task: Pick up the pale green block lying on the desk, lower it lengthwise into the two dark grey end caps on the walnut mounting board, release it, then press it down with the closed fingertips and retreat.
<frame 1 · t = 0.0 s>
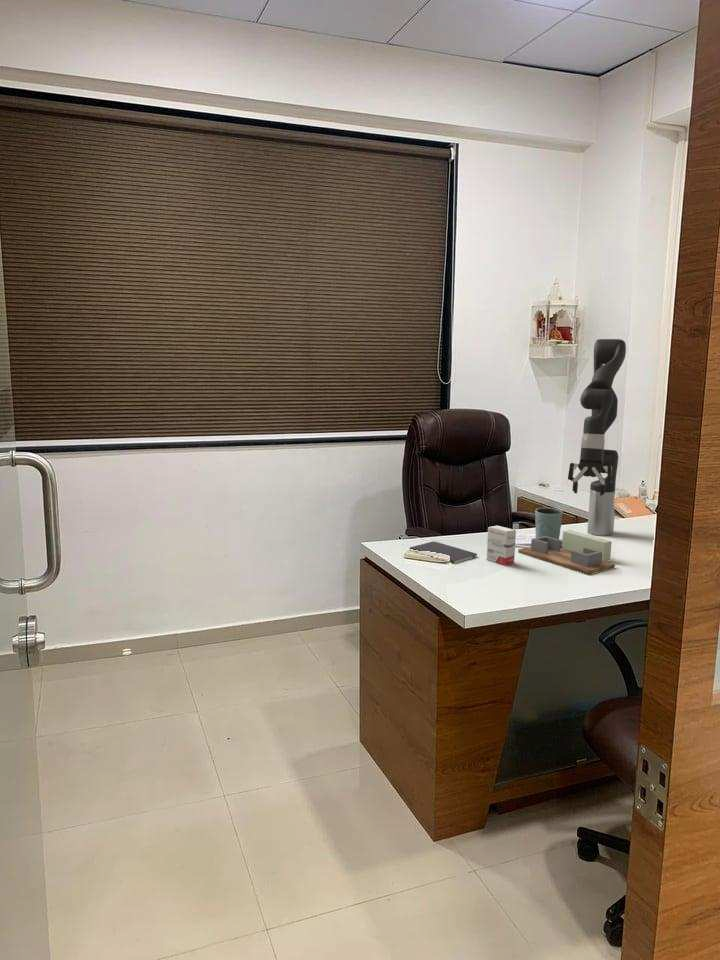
hand: (588, 494, 241), 22 cm above the table, tool pointing down, fingers open, 8 cm apart
end cap 1: (539, 551, 251), resting on mounting board
grey green cup: (547, 542, 264), on the table
ink box: (500, 562, 240), on the table
notebook: (443, 555, 249), on the table
end cap 2: (592, 568, 232), resting on mounting board
mounting board: (564, 559, 242), on the table
pale green block: (585, 555, 248), on the table
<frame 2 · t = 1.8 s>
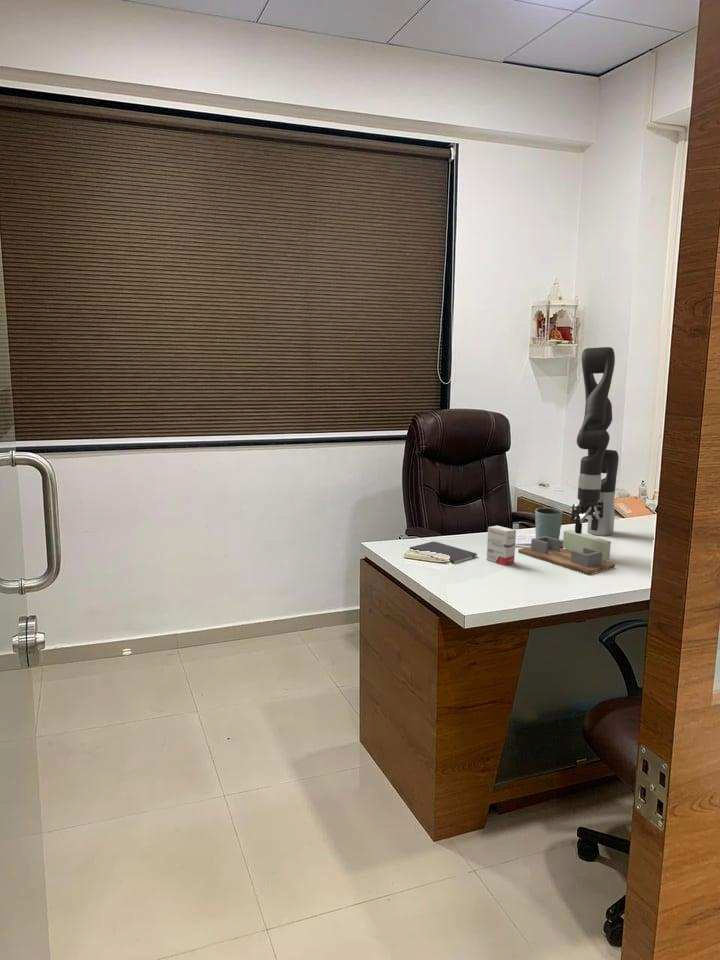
hand: (586, 531, 246), 8 cm above the table, tool pointing down, fingers open, 8 cm apart
nothing on the table moved.
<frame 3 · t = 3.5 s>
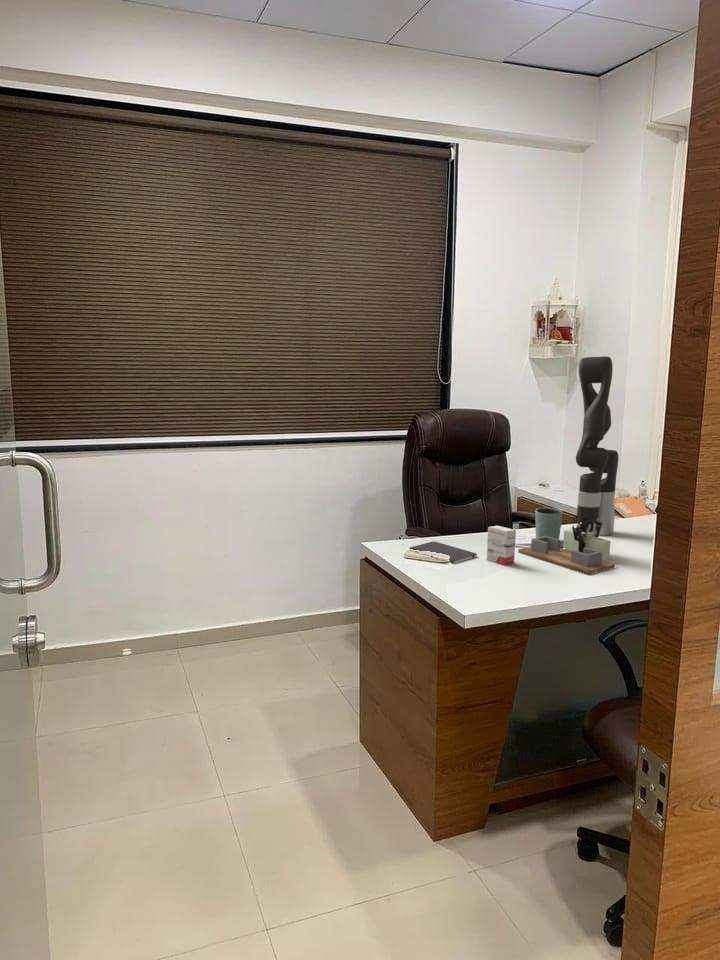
hand: (585, 551, 248), 1 cm above the table, tool pointing down, fingers closed on pale green block, 3 cm apart
pale green block: (585, 554, 248), on the table, touching gripper
everything else where it was.
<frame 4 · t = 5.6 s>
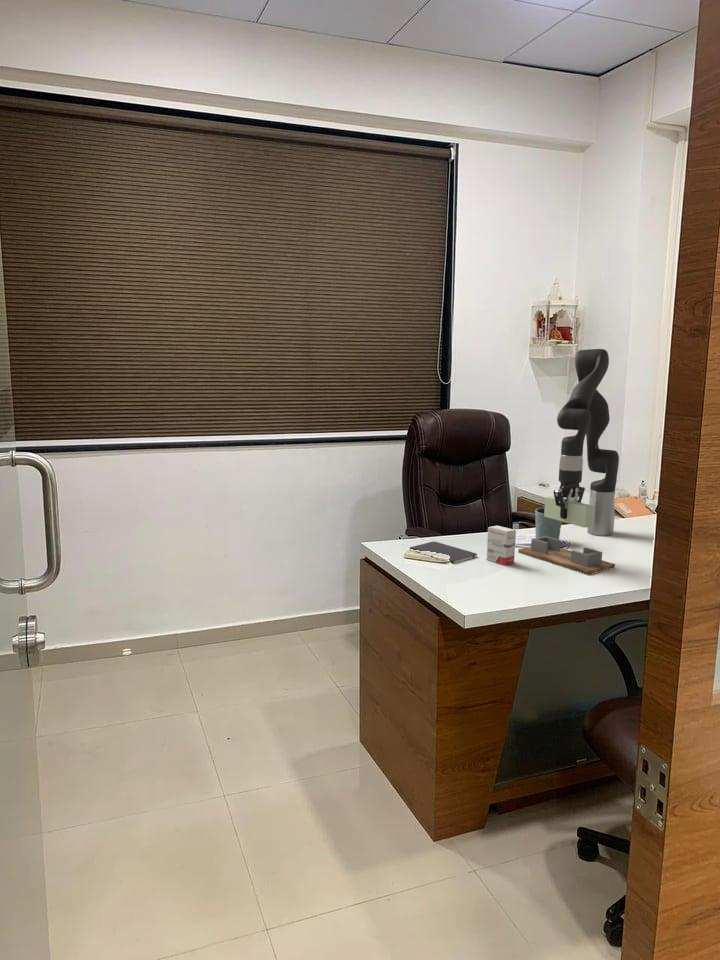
hand: (567, 517, 239), 15 cm above the table, tool pointing down, fingers closed on pale green block, 3 cm apart
pale green block: (567, 521, 239), point 14 cm above the table, touching gripper
everything else where it was.
when the fingers open (4 cm above the table, at t = 7.6 s): pale green block stays where it is, resting on mounting board.
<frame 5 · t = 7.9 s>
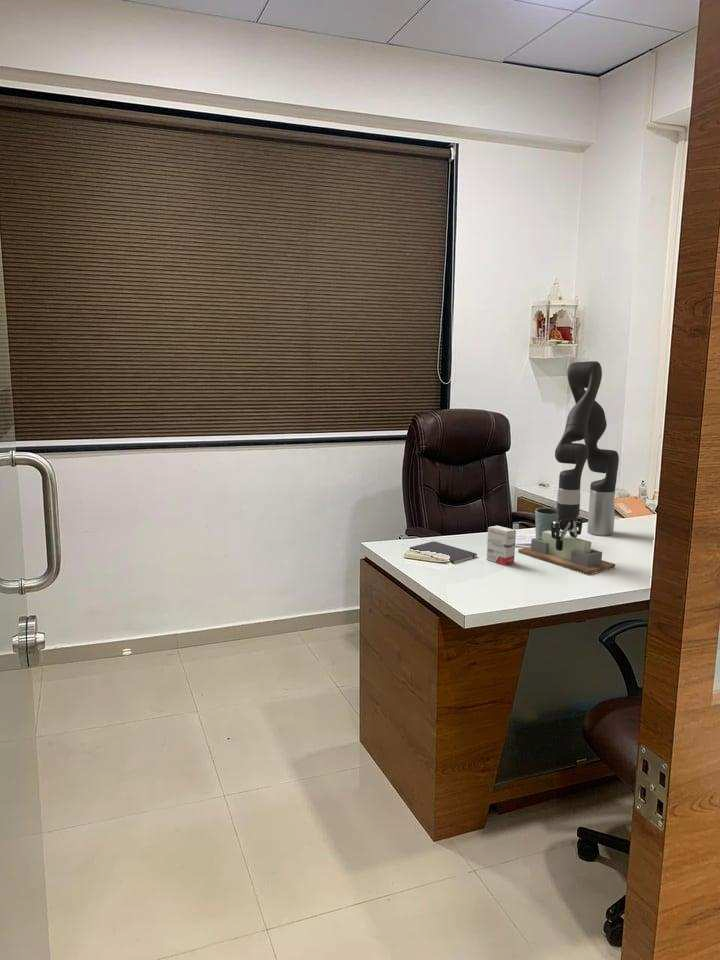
hand: (565, 548, 241), 4 cm above the table, tool pointing down, fingers open, 6 cm apart
pale green block: (564, 556, 242), point 1 cm above the table, touching mounting board
everything else where it was.
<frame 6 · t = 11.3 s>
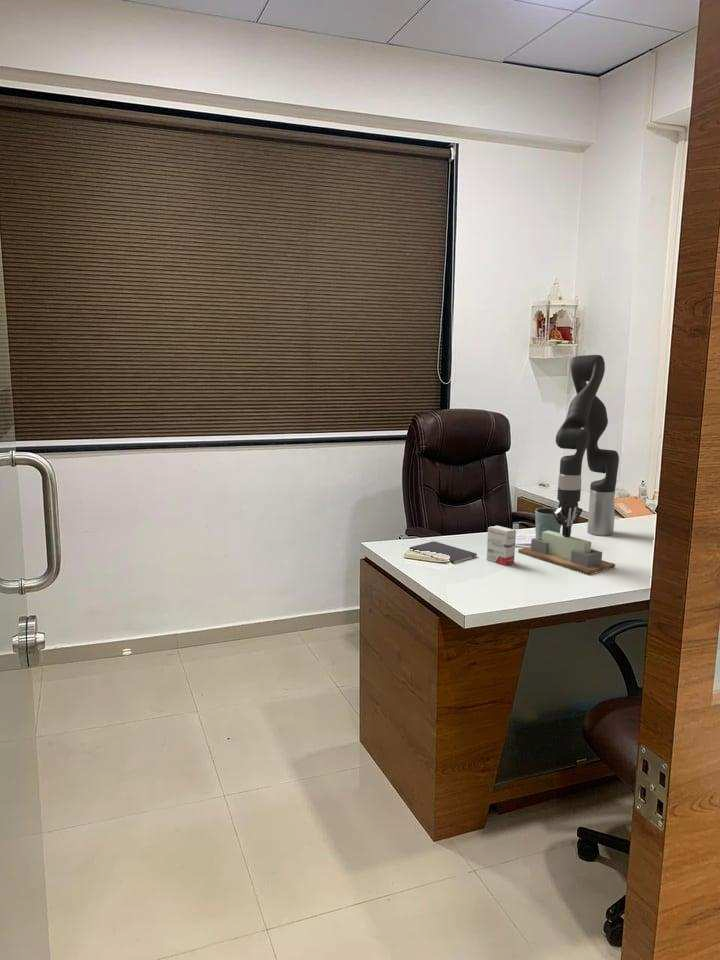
hand: (566, 536, 240), 8 cm above the table, tool pointing down, fingers closed
nothing on the table moved.
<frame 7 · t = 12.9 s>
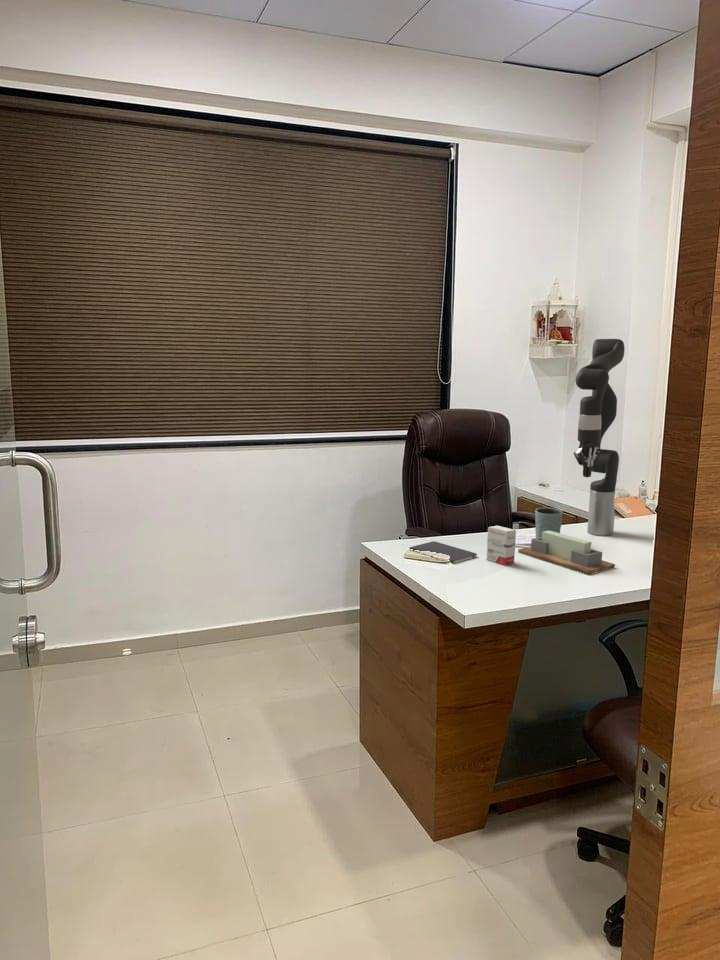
hand: (586, 476, 244), 28 cm above the table, tool pointing down, fingers closed
nothing on the table moved.
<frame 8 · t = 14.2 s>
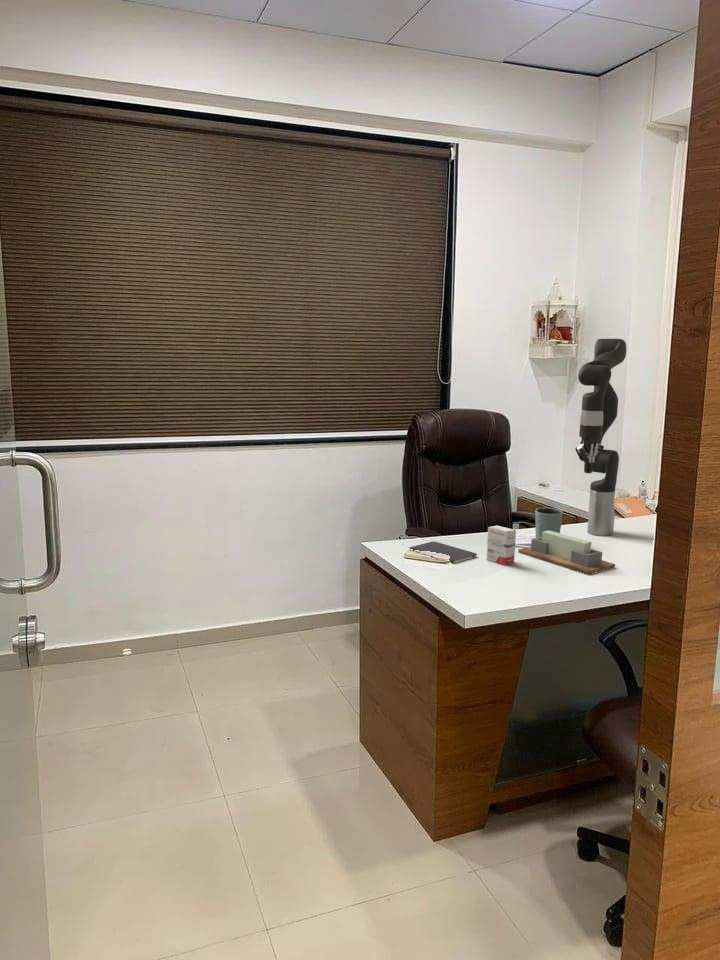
hand: (588, 472, 245), 29 cm above the table, tool pointing down, fingers closed
nothing on the table moved.
at the end: pale green block 0.1 cm off-centre on the mounting board, point 1.2 cm above the mounting board's base; pale green block tilted 0°; the gripper is holding nothing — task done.
